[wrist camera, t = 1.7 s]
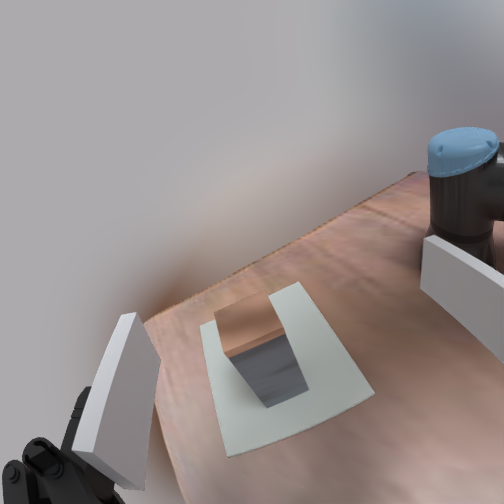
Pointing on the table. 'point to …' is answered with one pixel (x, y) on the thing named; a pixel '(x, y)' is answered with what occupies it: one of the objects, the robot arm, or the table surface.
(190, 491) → the table surface
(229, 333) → the slate block
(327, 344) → the sage mat
